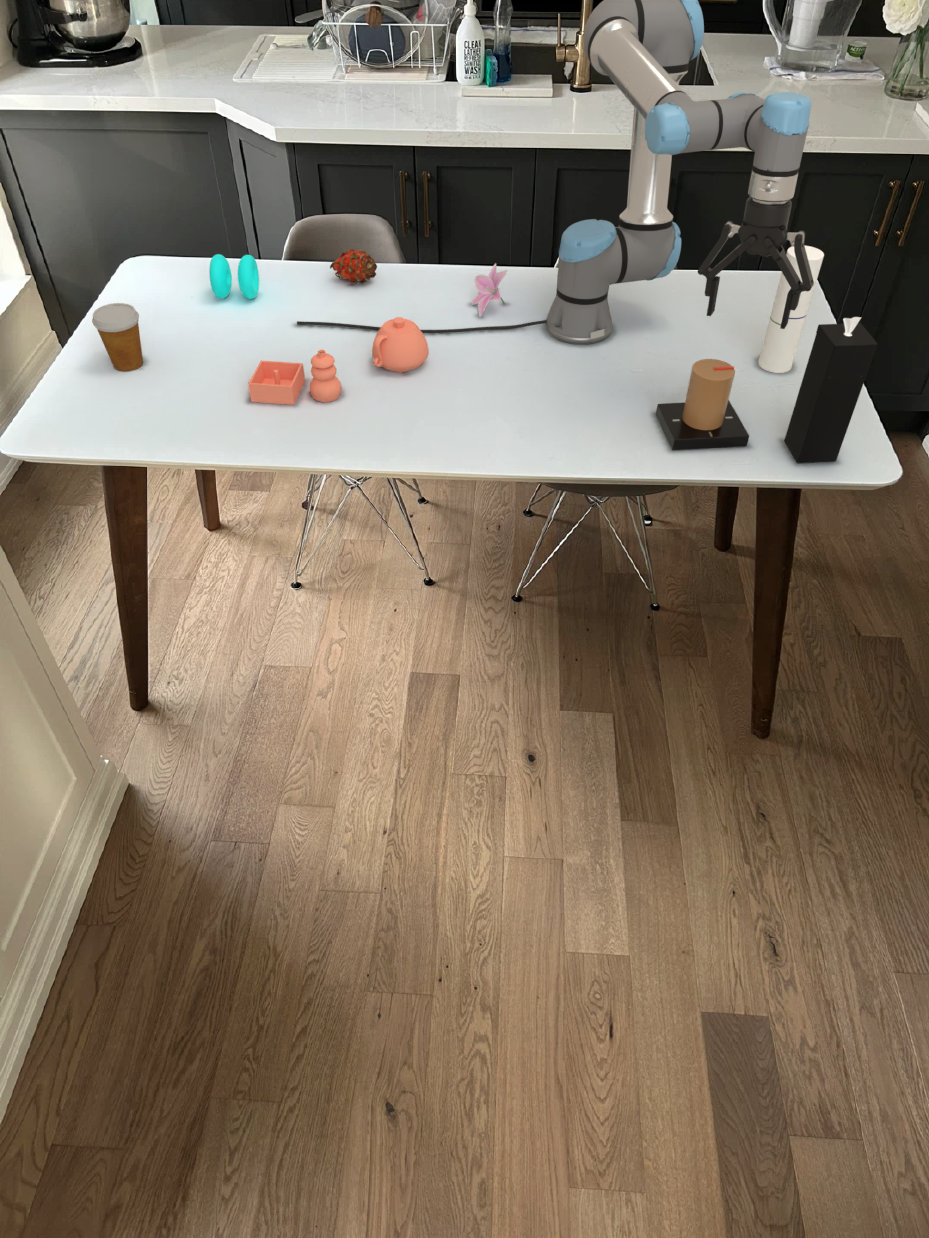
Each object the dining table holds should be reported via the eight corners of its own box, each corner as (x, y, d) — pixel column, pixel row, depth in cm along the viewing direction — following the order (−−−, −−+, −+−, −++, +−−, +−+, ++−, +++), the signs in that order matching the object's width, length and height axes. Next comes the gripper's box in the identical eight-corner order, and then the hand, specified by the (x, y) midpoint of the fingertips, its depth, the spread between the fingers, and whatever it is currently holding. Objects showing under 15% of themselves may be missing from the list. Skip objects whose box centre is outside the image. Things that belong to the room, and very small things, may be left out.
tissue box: (783, 440, 182) (823, 307, 162) (821, 439, 182) (866, 305, 162) (796, 464, 176) (840, 328, 156) (836, 462, 177) (884, 326, 157)
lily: (476, 296, 227) (461, 268, 219) (521, 281, 223) (507, 252, 215) (477, 332, 222) (460, 305, 214) (522, 318, 217) (508, 289, 210)
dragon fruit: (381, 291, 230) (336, 294, 232) (383, 259, 231) (338, 263, 234) (371, 273, 222) (324, 276, 224) (373, 240, 223) (326, 244, 226)
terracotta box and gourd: (251, 401, 190) (243, 358, 183) (263, 378, 197) (256, 335, 190) (336, 408, 189) (332, 365, 182) (346, 384, 195) (342, 341, 188)
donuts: (255, 306, 220) (248, 266, 213) (213, 306, 220) (205, 265, 213) (262, 287, 227) (255, 247, 220) (221, 287, 227) (214, 247, 220)
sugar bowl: (440, 362, 202) (439, 319, 195) (394, 386, 195) (392, 342, 188) (401, 343, 208) (399, 300, 201) (355, 366, 201) (351, 322, 194)
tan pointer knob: (688, 431, 179) (699, 380, 171) (677, 409, 185) (687, 358, 177) (728, 429, 180) (741, 377, 172) (716, 407, 186) (727, 356, 178)
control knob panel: (672, 450, 179) (674, 439, 177) (655, 414, 188) (657, 403, 186) (746, 446, 180) (749, 435, 178) (726, 410, 189) (729, 399, 188)
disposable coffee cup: (159, 359, 202) (146, 307, 194) (131, 379, 196) (116, 327, 187) (125, 349, 205) (111, 298, 196) (96, 369, 199) (80, 317, 190)
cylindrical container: (792, 374, 200) (825, 262, 182) (758, 371, 201) (788, 258, 183) (790, 358, 205) (822, 247, 187) (757, 355, 206) (786, 244, 188)
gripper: (691, 195, 158) (675, 315, 172) (841, 214, 149) (811, 339, 163) (703, 184, 163) (686, 301, 177) (849, 201, 154) (819, 324, 168)
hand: (746, 320), depth 170 cm, fingers open, 13 cm apart
